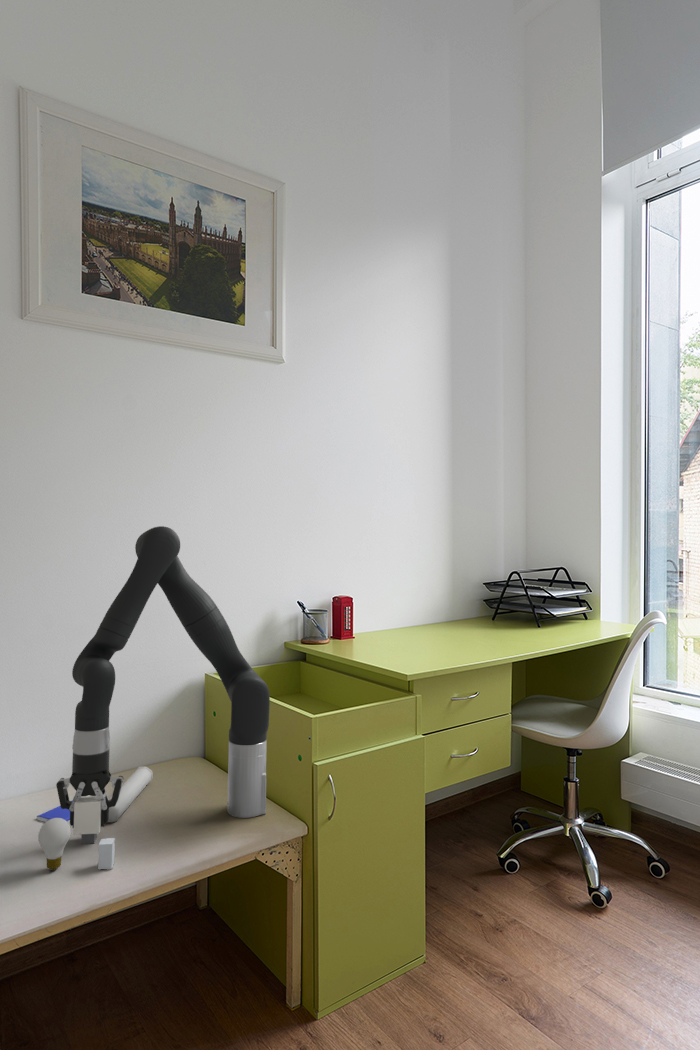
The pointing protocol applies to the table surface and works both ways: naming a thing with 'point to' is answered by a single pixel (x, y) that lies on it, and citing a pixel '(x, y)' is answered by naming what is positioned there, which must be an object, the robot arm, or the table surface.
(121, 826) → the table surface
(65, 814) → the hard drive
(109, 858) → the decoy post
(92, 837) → the post
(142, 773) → the tube
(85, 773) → the robot arm
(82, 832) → the off-white rectangular block
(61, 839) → the light bulb
